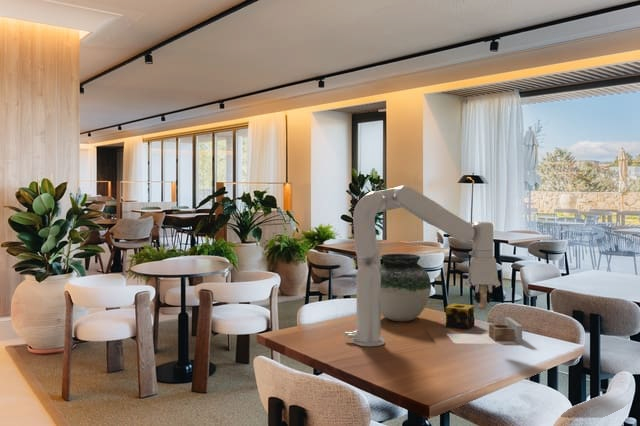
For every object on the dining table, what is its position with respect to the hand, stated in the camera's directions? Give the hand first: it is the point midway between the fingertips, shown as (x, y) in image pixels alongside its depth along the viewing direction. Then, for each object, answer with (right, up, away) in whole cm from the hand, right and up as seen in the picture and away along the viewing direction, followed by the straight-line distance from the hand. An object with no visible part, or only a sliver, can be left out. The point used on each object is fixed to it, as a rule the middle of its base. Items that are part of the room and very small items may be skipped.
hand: (482, 301), depth 198 cm
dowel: (0, -3, 0) cm, 3 cm away
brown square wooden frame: (+10, -16, +9) cm, 21 cm away
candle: (-1, -17, +29) cm, 34 cm away
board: (+3, -17, +9) cm, 20 cm away
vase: (-24, -16, +46) cm, 55 cm away
